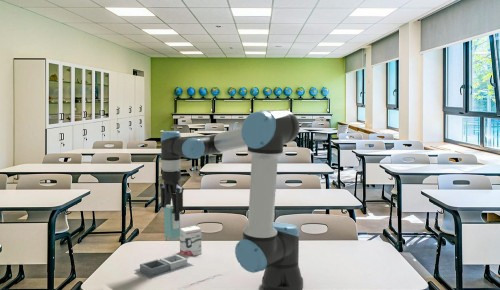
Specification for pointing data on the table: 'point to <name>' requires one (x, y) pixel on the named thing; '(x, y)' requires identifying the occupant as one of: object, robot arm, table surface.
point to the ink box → (190, 241)
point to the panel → (163, 266)
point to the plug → (170, 223)
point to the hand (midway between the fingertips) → (172, 226)
